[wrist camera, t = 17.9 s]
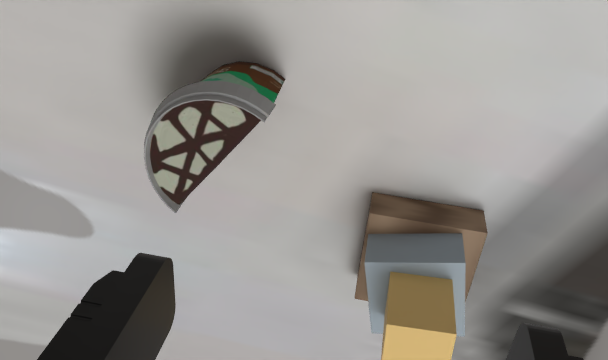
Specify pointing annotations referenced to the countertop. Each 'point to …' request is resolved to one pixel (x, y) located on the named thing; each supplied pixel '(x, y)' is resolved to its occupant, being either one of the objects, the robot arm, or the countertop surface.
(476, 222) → the walnut block
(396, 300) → the ochre block
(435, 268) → the grey block
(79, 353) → the robot arm
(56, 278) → the countertop surface
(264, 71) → the food container
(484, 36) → the countertop surface
